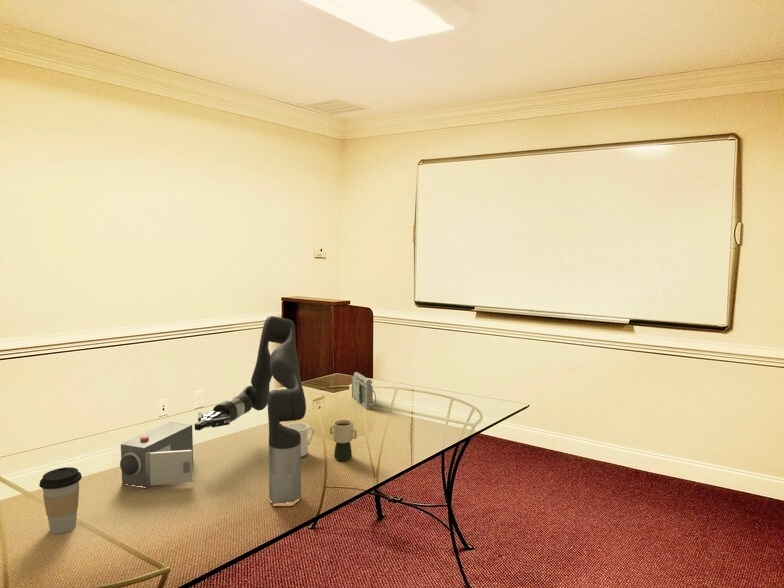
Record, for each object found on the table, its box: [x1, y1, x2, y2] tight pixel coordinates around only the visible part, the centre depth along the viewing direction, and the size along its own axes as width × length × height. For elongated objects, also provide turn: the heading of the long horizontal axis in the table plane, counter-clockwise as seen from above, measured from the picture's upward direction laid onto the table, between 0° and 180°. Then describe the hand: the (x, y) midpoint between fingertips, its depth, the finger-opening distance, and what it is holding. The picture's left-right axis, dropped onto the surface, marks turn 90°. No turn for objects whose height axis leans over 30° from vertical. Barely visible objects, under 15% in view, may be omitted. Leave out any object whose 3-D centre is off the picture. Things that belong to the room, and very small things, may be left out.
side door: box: [145, 450, 193, 488], centre depth 160 cm, size 13×2×10 cm, turn 102°
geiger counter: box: [351, 371, 377, 410], centre depth 248 cm, size 14×6×25 cm
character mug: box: [329, 419, 358, 461], centre depth 185 cm, size 11×7×13 cm, turn 65°
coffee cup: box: [38, 466, 83, 535], centre depth 137 cm, size 9×9×15 cm
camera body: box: [119, 421, 194, 487], centre depth 171 cm, size 24×10×14 cm, turn 162°
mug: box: [284, 422, 315, 459], centre depth 188 cm, size 11×9×10 cm
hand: (196, 427), depth 168 cm, fingers closed
